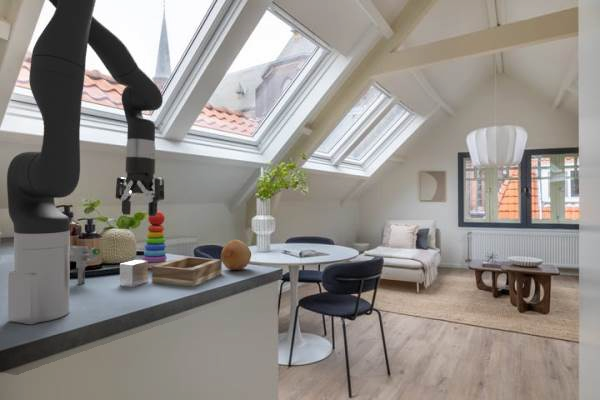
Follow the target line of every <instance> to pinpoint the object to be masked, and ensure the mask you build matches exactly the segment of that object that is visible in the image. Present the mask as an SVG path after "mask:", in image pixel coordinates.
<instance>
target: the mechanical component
mask: <svg viewBox="0 0 600 400" xmlns="http://www.w3.org/2000/svg"><path fill="white" fill-rule="evenodd" d="M100 253H101V250H100V248H98V247H91V248H90V249H89V247H88V246H86V245H85V246H84V245H70V262H75V263H76V266H75V268H76V269H77V285H82V284H85V283H86V282H85V280H86V279H85V277H86V275H85V274H86V273H85V272H86V270H85V269H86V267H88V265H87V263H91V262H95V261H98V260H99V257H100ZM89 257H90V258H89Z"/></svg>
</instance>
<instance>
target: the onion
mask: <svg viewBox="0 0 600 400" xmlns="http://www.w3.org/2000/svg"><path fill="white" fill-rule="evenodd" d="M251 258H252V252H251V249H250V247H249V246H248V245H247V244H246V243H245V242H243V241H242V240H239V239H232V240H230V241H229V242H227V243H226V244H225V245H224V247H223V248H222V249H221V254H220V260H222V264H223V265H224V266H225V268H226V269H228V270H237V271H240V270H243V269H244V268H246V267H247V266H248V265H249V263H250V262H251Z"/></svg>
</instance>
